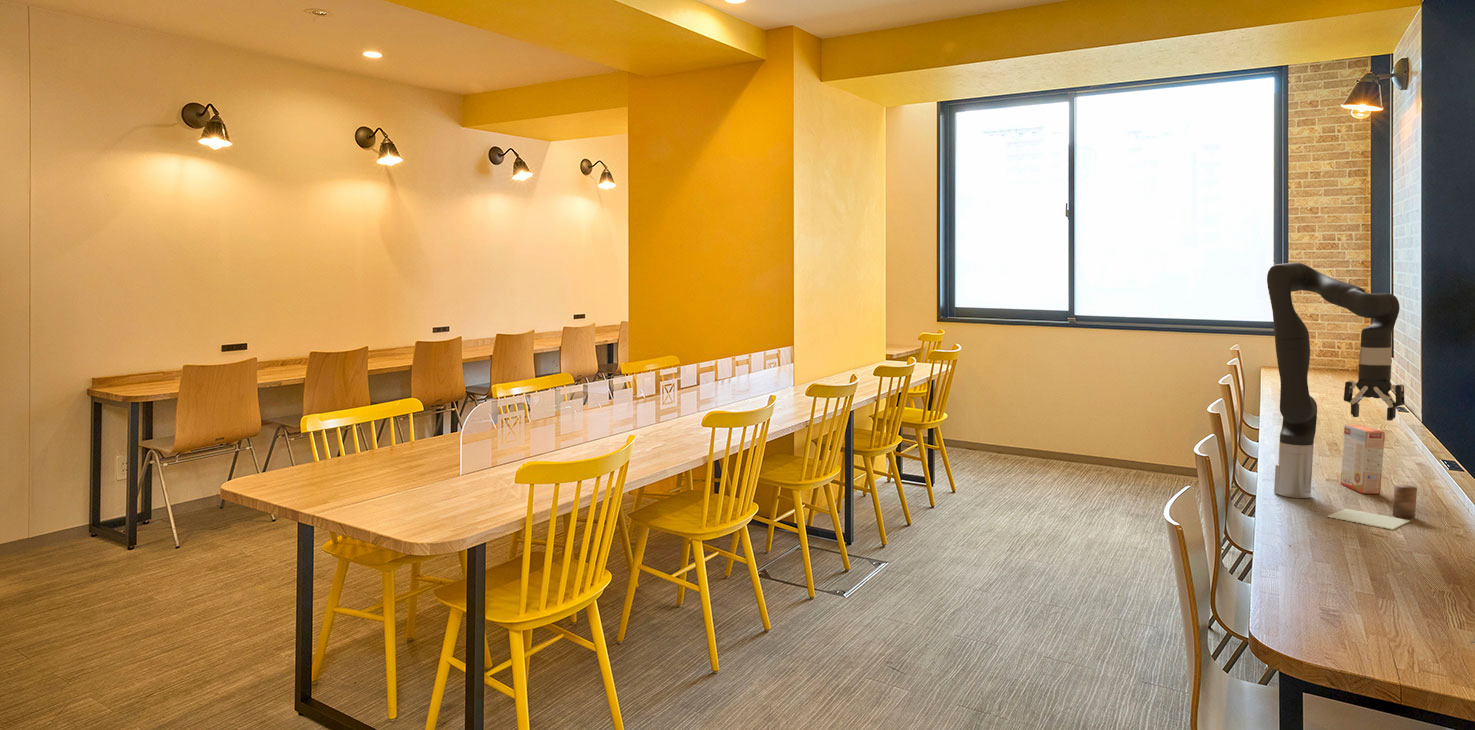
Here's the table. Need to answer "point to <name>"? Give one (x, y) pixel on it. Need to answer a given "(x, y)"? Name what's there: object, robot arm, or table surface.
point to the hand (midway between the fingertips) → (1372, 418)
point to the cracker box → (1362, 458)
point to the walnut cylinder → (1404, 501)
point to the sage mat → (1369, 519)
